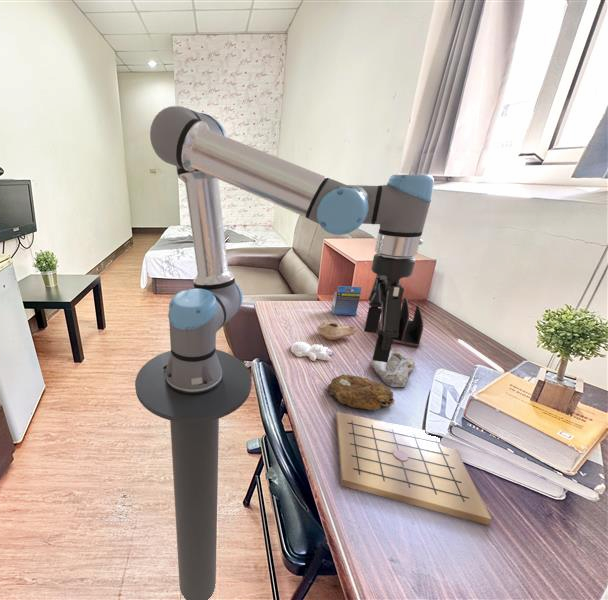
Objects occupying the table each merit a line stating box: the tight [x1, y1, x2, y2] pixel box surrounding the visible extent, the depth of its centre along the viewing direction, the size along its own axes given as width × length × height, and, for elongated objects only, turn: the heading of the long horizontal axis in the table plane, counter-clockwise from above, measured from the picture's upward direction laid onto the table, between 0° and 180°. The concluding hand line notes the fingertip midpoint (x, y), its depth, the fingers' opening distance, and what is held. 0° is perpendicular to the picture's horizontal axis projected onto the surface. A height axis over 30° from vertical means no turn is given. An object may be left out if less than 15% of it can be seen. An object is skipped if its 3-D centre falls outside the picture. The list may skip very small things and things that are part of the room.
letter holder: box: [389, 296, 424, 348], centre depth 108 cm, size 10×20×14 cm, turn 152°
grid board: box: [335, 411, 493, 526], centre depth 60 cm, size 22×18×2 cm
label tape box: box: [330, 285, 362, 316], centre depth 123 cm, size 9×4×12 cm, turn 83°
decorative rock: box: [327, 374, 395, 411], centre depth 77 cm, size 11×4×15 cm
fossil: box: [370, 349, 416, 388], centre depth 88 cm, size 18×10×3 cm, turn 139°
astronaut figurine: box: [290, 341, 333, 362], centre depth 97 cm, size 9×12×3 cm
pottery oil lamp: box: [317, 321, 357, 341], centre depth 105 cm, size 9×12×7 cm
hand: (374, 345), depth 71 cm, fingers open, 13 cm apart
